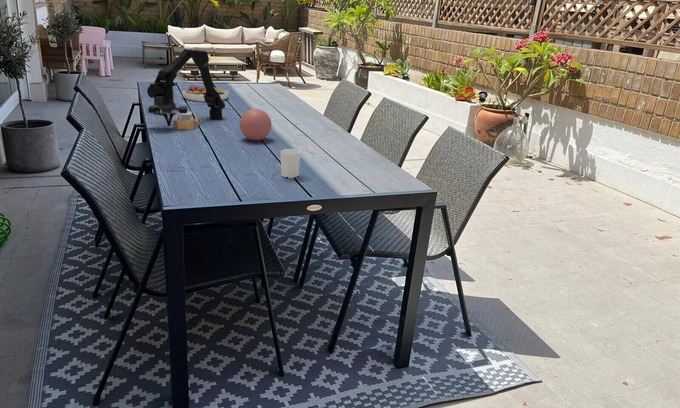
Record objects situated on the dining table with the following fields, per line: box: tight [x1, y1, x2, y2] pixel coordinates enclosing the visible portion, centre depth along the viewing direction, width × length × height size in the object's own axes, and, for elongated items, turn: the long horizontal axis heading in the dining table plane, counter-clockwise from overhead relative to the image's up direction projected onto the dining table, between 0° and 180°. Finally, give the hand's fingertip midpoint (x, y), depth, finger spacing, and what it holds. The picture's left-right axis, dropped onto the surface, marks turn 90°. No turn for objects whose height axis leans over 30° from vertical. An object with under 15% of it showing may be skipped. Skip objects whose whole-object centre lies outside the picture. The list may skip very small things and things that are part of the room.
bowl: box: [181, 84, 229, 103], centre depth 360 cm, size 30×30×8 cm
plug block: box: [180, 111, 193, 120], centre depth 289 cm, size 5×8×6 cm, turn 10°
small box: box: [153, 96, 163, 116], centre depth 310 cm, size 11×6×10 cm, turn 168°
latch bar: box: [177, 117, 195, 130], centre depth 278 cm, size 8×2×6 cm, turn 100°
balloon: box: [239, 108, 272, 142], centre depth 265 cm, size 15×20×15 cm
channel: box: [172, 114, 200, 129], centre depth 288 cm, size 12×16×4 cm
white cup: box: [280, 148, 302, 179], centre depth 214 cm, size 8×8×10 cm
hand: (169, 125), depth 277 cm, fingers closed
